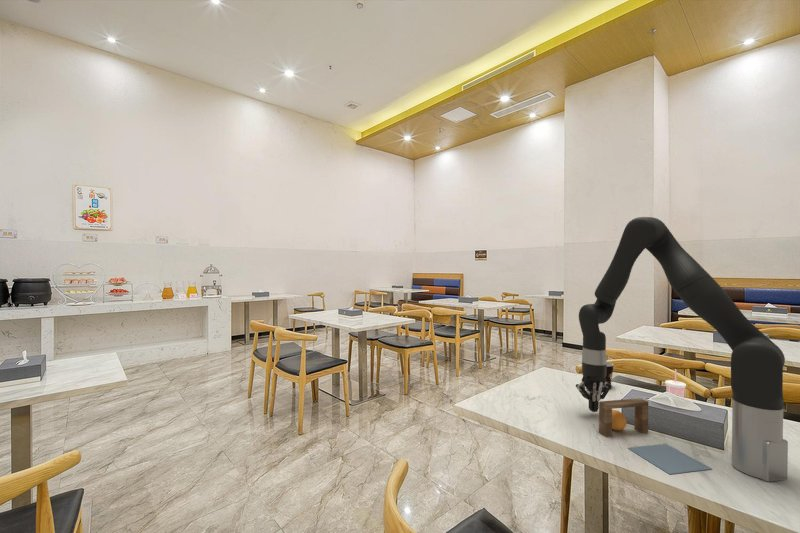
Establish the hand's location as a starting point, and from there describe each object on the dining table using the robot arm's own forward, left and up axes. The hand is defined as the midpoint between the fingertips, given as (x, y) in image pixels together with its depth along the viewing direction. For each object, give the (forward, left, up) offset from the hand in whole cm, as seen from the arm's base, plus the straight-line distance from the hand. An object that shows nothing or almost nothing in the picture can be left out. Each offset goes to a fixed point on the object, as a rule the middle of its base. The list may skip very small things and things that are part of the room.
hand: (593, 411), depth 125 cm
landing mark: (-28, 0, -2) cm, 28 cm away
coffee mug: (+25, -23, -2) cm, 34 cm away
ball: (-11, +1, +2) cm, 11 cm away
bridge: (-13, 0, -2) cm, 13 cm away
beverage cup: (+1, -35, -2) cm, 35 cm away
